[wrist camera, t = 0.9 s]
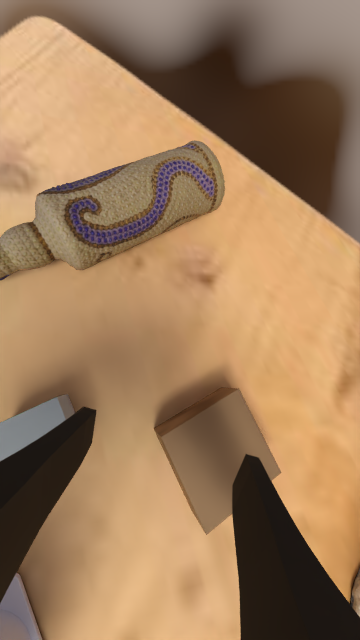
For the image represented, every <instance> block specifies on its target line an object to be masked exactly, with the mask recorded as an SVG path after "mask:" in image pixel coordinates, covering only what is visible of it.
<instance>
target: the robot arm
mask: <svg viewBox="0 0 360 640" xmlns="http://www.w3.org/2000/svg"><path fill="white" fill-rule="evenodd" d="M95 417H96V410H93V409H90V408H86V407H83V408H81V409H80V410H79V411H77V412H76V413H74V414H73V415H72V416H70V417H69V418H68V419H66V420H65V421H63V422H62V423H61V424H59V425H58V426H56V427H55V428H53V429H52V430H50V431H49V432H48V433H46V434H45V435H43V436H42V437H40V438H38V439H37V440H35V441H34V442H32V443H30V444H29V445H27V446H26V447H24V448H22V449H21V450H19V451H17V452H16V453H14V454H12V455H10V456H9V457H7V458H5V459H3V460H1V461H0V640H42V637H41V634H40V632H39V629H38V626H37V623H36V620H35V617H34V614H33V611H32V608H31V605H30V603H29V600H28V597H27V594H26V591H25V588H24V585H23V582H22V579H21V576H20V575H19V574H18V573H16V572H17V571H18V569H19V567H20V565H21V563H22V561H23V559H24V557H25V556H26V554H27V552H28V550H29V548H30V546H31V545H32V543H33V541H34V539H35V537H36V535H37V533H38V532H39V530H40V528H41V526H42V525H43V523H44V521H45V520H46V518H47V516H48V515H49V513H50V512H51V510H52V509H53V507H54V506H55V504H56V503H57V501H58V499H59V498H60V496H61V495H62V493H63V492H64V490H65V489H66V487H67V486H68V484H69V482H70V481H71V479H72V478H73V476H74V475H75V473H76V471H77V470H78V468H79V467H80V465H81V463H82V461H83V459H84V457H85V456H86V454H87V452H88V450H89V448H90V446H91V444H92V438H93V431H94V424H95ZM232 514H233V525H234V536H235V546H236V556H237V566H238V576H239V590H240V623H241V640H360V617H359V615H358V614H357V613H356V612H355V610H354V609H353V608H352V606H351V605H350V604H349V602H348V601H347V600H346V598H345V597H344V596H343V594H342V593H341V592H340V590H339V589H338V588H337V586H336V585H335V584H334V582H333V581H332V579H331V578H330V577H329V575H328V574H327V572H326V571H325V570H324V568H323V567H322V565H321V564H320V562H319V561H318V559H317V558H316V556H315V555H314V553H313V552H312V550H311V549H310V547H309V546H308V544H307V543H306V541H305V540H304V538H303V536H302V535H301V533H300V531H299V530H298V528H297V527H296V525H295V523H294V521H293V520H292V518H291V516H290V515H289V513H288V511H287V509H286V507H285V506H284V504H283V502H282V500H281V498H280V497H279V495H278V493H277V491H276V489H275V487H274V485H273V484H272V482H271V480H270V478H269V476H268V474H267V472H266V470H265V468H264V466H263V464H262V462H261V460H260V459H259V457H255V456H252V455H248V454H246V455H245V457H244V459H243V462H242V464H241V466H240V468H239V471H238V473H237V475H236V478H235V480H234V482H233V485H232Z"/></svg>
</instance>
